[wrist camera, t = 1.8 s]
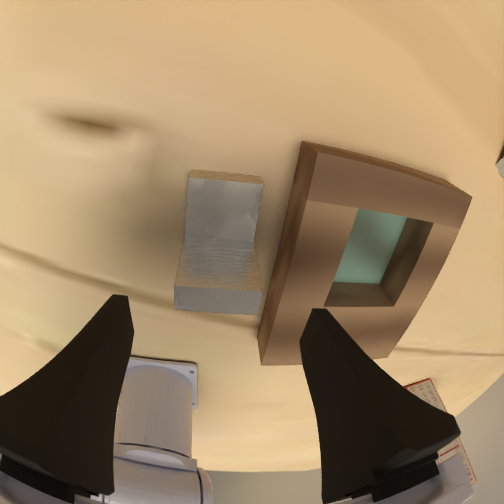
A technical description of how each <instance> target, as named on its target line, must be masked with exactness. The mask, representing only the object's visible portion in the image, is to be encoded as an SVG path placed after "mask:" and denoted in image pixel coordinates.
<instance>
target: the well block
mask: <svg viewBox="0 0 504 504" xmlns="http://www.w3.org/2000/svg"><path fill="white" fill-rule="evenodd" d="M471 199H472V196H470V195H468V194H467V193H465V192H464V191H462V190H461V189H459V188H457V187H456V186H454V185H453V184H451V183H449V182H448V181H445V180H443V179H440V178H437V177H434V176H431V175H429V174H426V173H423V172H420V171H417V170H414V169H411V168H408V167H404V166H401V165H398V164H395V163H391V162H388V161H384V160H381V159H377V158H373V157H370V156H366V155H362V154H358V153H354V152H350V151H346V150H342V149H337V148H333V147H328V146H324V145H319V144H314V143H309V142H304V141H302V144H301V149H300V154H299V158H298V163H297V168H296V173H295V177H294V182H293V187H292V191H291V196H290V200H289V205H288V210H287V214H286V218H285V223H284V227H283V232H282V236H281V241H280V245H279V249H278V254H277V258H276V262H275V266H274V271H273V275H272V279H271V283H270V287H269V291H268V296H267V300H266V304H265V308H264V312H263V316H262V320H261V324H260V328H259V332H258V336H257V340H258V347H259V354H260V361H261V365H302V359H301V352H300V344H299V341H300V338H301V336H302V333H303V331H304V328H305V326H306V323H307V321H308V318H309V316H310V313H311V311H312V308H326V309H327V310H328V311H329V312H330V313H331V314H332V315H333V317H334V318H335V319H336V320H337V321H338V322H339V324H340V325H341V326H342V327H343V328H344V329H345V331H346V332H347V333H348V334H349V335H350V336H351V338H352V339H353V340H354V341H355V342H356V343H357V344H358V345H359V346H360V348H361V349H362V350H363V351H364V352H365V353H366V354H367V355H368V356H369V357H370V358H371V359H380V358H387V357H388V356H389V355H390V353H391V352H392V350H393V349H394V347H395V346H396V345H397V343H398V342H399V340H400V339H401V337H402V336H403V334H404V333H405V331H406V330H407V328H408V326H409V325H410V323H411V322H412V320H413V319H414V317H415V315H416V314H417V312H418V310H419V309H420V307H421V305H422V304H423V302H424V300H425V298H426V297H427V295H428V293H429V291H430V290H431V288H432V286H433V284H434V282H435V280H436V278H437V277H438V275H439V273H440V271H441V269H442V267H443V265H444V263H445V261H446V259H447V257H448V255H449V252H450V250H451V248H452V246H453V244H454V242H455V239H456V237H457V235H458V232H459V230H460V228H461V225H462V223H463V220H464V218H465V215H466V213H467V210H468V208H469V205H470V202H471Z"/></svg>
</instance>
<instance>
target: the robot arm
mask: <svg viewBox="0 0 504 504" xmlns="http://www.w3.org/2000/svg"><path fill="white" fill-rule="evenodd" d="M133 337H134V328H133V323H132V318H131V312H130V307H129V301H128V296H124V295H116V294H113V295H112V296H111V297H110V298H109V299H108V300H107V301H106V302H105V304H104V305H103V306H102V307H101V308H100V309H99V311H98V312H97V313H96V314H95V315H94V316H93V318H92V319H91V320H90V321H89V322H88V323H87V324H86V325H85V326H84V328H83V329H82V330H81V331H80V332H79V333H78V334H77V335H76V336H75V337H74V338H73V339H72V340H71V341H70V342H69V344H68V345H67V346H66V347H65V348H64V349H63V350H62V351H61V352H59V353H58V354H57V355H56V356H55V357H54V358H53V359H52V360H51V361H50V362H49V363H47V364H46V365H45V366H44V367H43V368H41V369H40V370H39V371H38V372H36V373H35V374H34V375H32V376H31V377H30V378H29V379H27V380H26V381H24V382H23V383H21V384H20V385H18V386H17V387H15V388H14V389H12V390H10V391H9V392H7V393H5V394H4V395H2V396H0V453H1V454H2V458H1V459H0V504H213V502H214V497H213V487H212V483H211V480H210V478H209V476H208V475H207V474H206V472H205V471H204V470H203V469H202V468H199V467H197V459H192V409H196V408H197V365H196V364H193V363H183V362H172V361H162V360H153V359H145V358H137V357H130V355H131V349H132V343H133ZM299 344H300V352H301V359H302V365H303V368H304V372H305V376H306V380H307V383H308V387H309V390H310V394H311V398H312V401H313V405H314V409H315V414H316V419H317V426H318V433H319V442H320V452H321V468H322V501H323V504H328V503H332V502H336V501H341V500H344V499H348V498H352V499H351V500H348V501H344V502H341V503H337V504H462V503H464V502H465V501H466V500H468V499H469V498H470V497H472V496H473V495H474V491H473V488H472V485H471V482H470V479H469V476H468V473H467V470H466V468H465V465H464V462H463V459H462V457H461V454H460V453H457V454H456V455H454V456H452V457H450V458H449V459H447V460H445V461H443V462H441V463H439V464H438V465H437V464H436V461H435V460H437V459H438V458H439V455H438V453H437V451H439V450H440V449H442V448H443V447H445V446H446V445H448V444H449V443H451V442H452V441H453V440H455V439H456V438H457V437H458V436H459V435H460V433H461V431H460V429H459V427H458V425H457V423H456V420H455V418H454V416H453V415H451V414H449V413H447V412H444V411H442V410H440V409H438V408H436V407H434V406H432V405H431V404H429V403H427V402H425V401H424V400H422V399H420V398H419V397H417V396H416V395H414V394H413V393H411V392H410V391H409V390H407V389H406V388H404V387H403V386H402V385H400V384H399V383H398V382H397V381H395V380H394V379H393V378H392V377H391V376H389V375H388V374H387V373H386V372H385V371H384V370H382V369H381V368H380V367H379V366H378V365H377V364H376V363H375V362H374V361H373V360H372V359H371V358H370V357H369V356H368V355H367V354H366V353H365V352H364V351H363V350H362V349H361V348H360V346H359V345H358V344H357V343H356V342H355V341H354V340H353V339H352V338H351V336H350V335H349V334H348V333H347V332H346V331H345V329H344V328H343V327H342V326H341V325H340V324H339V322H338V321H337V320H336V319H335V318H334V317H333V315H332V314H331V313H330V312H329V311H328V310H327V309H326V308H312V311H311V313H310V316H309V318H308V321H307V323H306V326H305V328H304V331H303V333H302V336H301V338H300V341H299ZM123 382H124V383H123ZM122 384H123V388H122ZM121 388H122V393H121V398H120V403H119V408H118V414H117V419H116V412H117V406H118V400H119V396H120V392H121ZM115 421H116V425H115Z"/></svg>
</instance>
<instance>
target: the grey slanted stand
mask: <svg viewBox="0 0 504 504" xmlns="http://www.w3.org/2000/svg"><path fill="white" fill-rule="evenodd" d="M496 167H497V169H498V171H499V174H500V175H501V176H503V178H504V158H502V159H501V160H500V161H499V162H498V163H497V164H496Z"/></svg>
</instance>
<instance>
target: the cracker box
mask: <svg viewBox="0 0 504 504" xmlns="http://www.w3.org/2000/svg"><path fill="white" fill-rule="evenodd" d="M404 388H406V389H407V390H409V391H410V392H411V393H413V394H414V395H416V396H417V397H419V398H420V399H422V400H424V401H425V402H427V403H429V404H431V405H432V406H434V407H436V408H438V409H440V410H442V411H444V412H447V410H446V408H445V406H444V404H443V402H442V400H441V398H440V396H439V394H438V393H437V391H436V389H435V387H434V385H433V383H432V381H431V379H427V380H424V381H421V382H418V383H415V384H412V385H409V386H406V387H404ZM447 413H448V412H447ZM437 453H438V455H439V458H438V459H437V460H435V461H436V464H437V465H438V464H439V463H441V462H443V461H445V460H447V459H449V458H450V457H452V456H454V455H456V454H457V453H460V454H461V457H462V459H463V462H464V465H465V468H466V470H467V473H468V476H469V479H470V482H471V485H473V484H474V483H475V482H476V477H475V475H474V472H473V469H472V467H471V464H470V462H469V459H468V457H467V455H466V452H465V450H464V447H463V445H462V443H461V441H460V438H459V436H458V437H457V438H456V439H455V440H453V441H452V442H451V443H449V444H448V445H446V446H445V447H443V448H442V449H440V450H439V451H437Z"/></svg>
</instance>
